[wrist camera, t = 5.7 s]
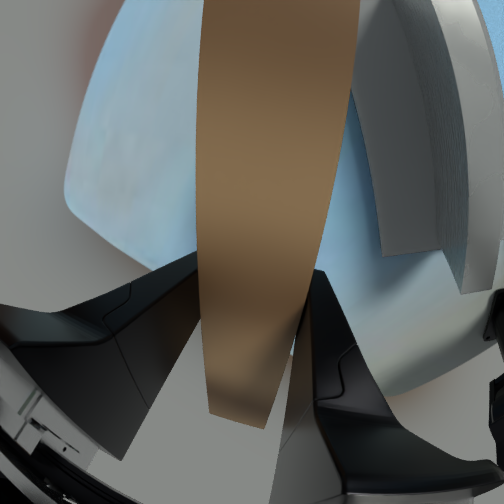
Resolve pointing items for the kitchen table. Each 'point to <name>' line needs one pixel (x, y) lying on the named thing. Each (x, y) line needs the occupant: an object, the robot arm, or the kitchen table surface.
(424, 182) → the board
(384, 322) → the kitchen table surface
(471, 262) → the steel ridge
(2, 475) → the robot arm
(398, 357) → the kitchen table surface
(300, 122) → the walnut batten
